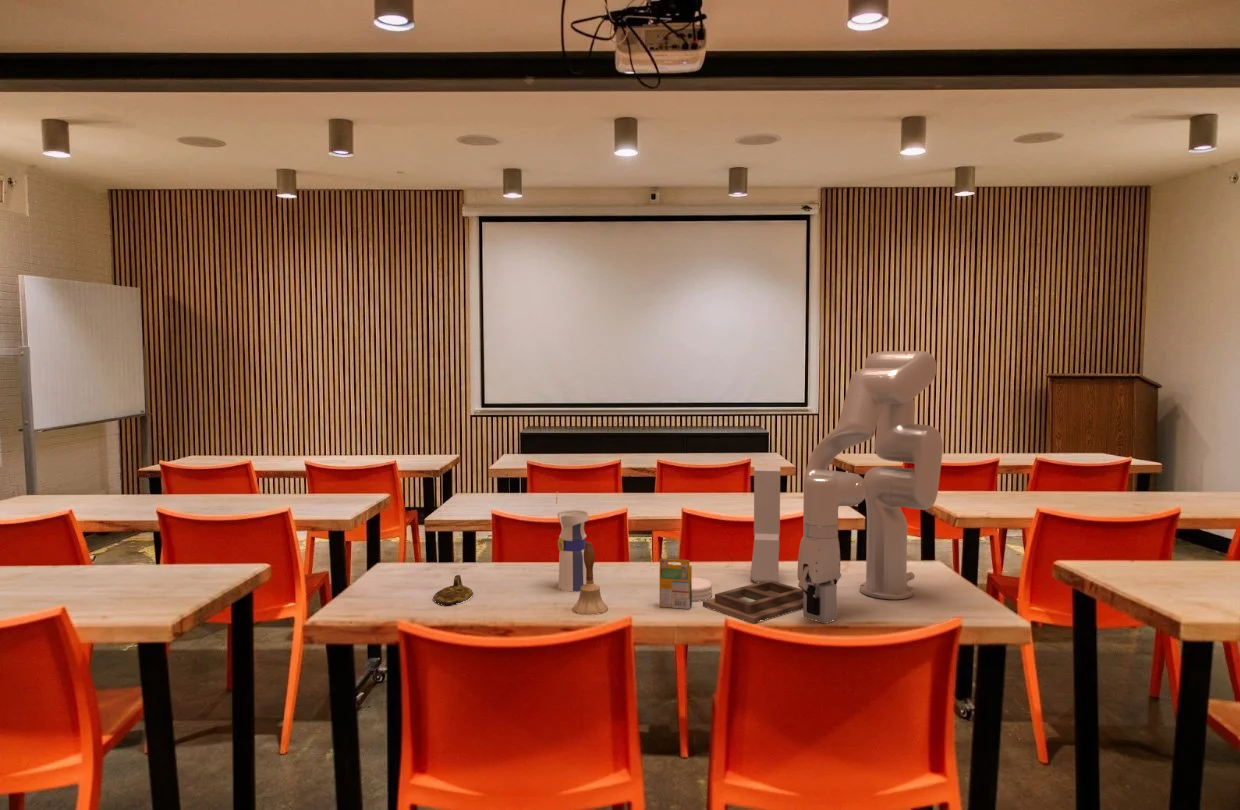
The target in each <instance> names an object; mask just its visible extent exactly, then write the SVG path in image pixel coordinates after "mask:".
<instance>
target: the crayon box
mask: <svg viewBox="0 0 1240 810" xmlns="http://www.w3.org/2000/svg"><path fill="white" fill-rule="evenodd" d="M674 562H675V563H680V564H673V563H674ZM669 563H670V564H669ZM671 563H672V564H671ZM692 567H693V566H692V565H691V564H690V559H676V558H673V559H672V558H659V608H671V607H672V608H671V609H673V608H674V609H686V610H690V609H691V607H692V606H693V601H692V578H693V576H692V574H693V573H692V569H693V568H692Z"/></svg>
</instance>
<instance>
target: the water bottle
mask: <svg viewBox="0 0 1240 810" xmlns="http://www.w3.org/2000/svg"><path fill="white" fill-rule="evenodd" d="M556 495H558V490H557V491H556ZM555 501H556V502H555V504H556V505H557V504H558V497H556V500H555ZM557 518H558V521H559V522H558V523H559V524H560V526H561V531H560V534H559V536H558V537H559V538H558V539H557V547H558V550H559V556H558V560H559V561H558V585H557V586H558V587H557V588H558V589H559V590H560V589H561V590H560V591H562V590H564V591H563V592H568V591H576V592H580V589H581V586H583V585H585V584H586V566H585V563H584V549H585V546H586V538H587V534H586V531H585V522H588V521H589V520H590V516H589V513H588V511H586V510H585V511H584V510H578V509H571V510H562V511H559V512H557Z"/></svg>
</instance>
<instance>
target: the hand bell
mask: <svg viewBox="0 0 1240 810" xmlns="http://www.w3.org/2000/svg"><path fill="white" fill-rule="evenodd" d="M592 543H593V542H591V541H585V549H584V563H585V566H586V584H585V585H583V586H581V589H580V591H579V595H578V599H577V601H576V603H575V604H574V605H573V607H572V609H573V610H572V612H574V613H575V612H577V613H576V614H578V613H581V614H580V615H582V614H596V615H598V614H597V613H601V612H604V611H606V610H607V609H609V607H608V605H607V604H606V603H605V602H604V600H603V599H602V596H601V590H600V589H601V588H600V586H599V585H597V584H596V583H594V570H593V569H594V564H595V560H596V559H595V557H596V556H595V554H596V553H595V549H594V547H593V544H592ZM607 611H608V610H607ZM607 611H606V612H607ZM604 613H605V612H604ZM601 614H602V613H601Z"/></svg>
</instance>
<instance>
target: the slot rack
mask: <svg viewBox="0 0 1240 810" xmlns="http://www.w3.org/2000/svg"><path fill="white" fill-rule="evenodd" d="M803 595H804V591H803V589H801V588H800V587H795V586H792V585H789V584H786V583H781V582H779V581H778V582H775V581H771V580H767V581H763V582H759V583H755V582H754V583H752V584H748V585H745V586H740V587H737V588H732V589H730V590H725V591H721V592H717V593H714V598H709V599H707V600H703V601H702V607H704V606H705V607H704V608H707V607H709V608H711V609H710V610H712V609H715V610H717V611H716V612H718V611H720V612H719V613H721V612H722V614H725V615H727V614H728V616H730V615H731V617H732V618H733V617H734V618H735V619H736V618H737V619H739V620H742V621H745V622H748V623H750V622H751V623H750V624H753V623H755V624H758V623H759V622H758V621H760V620H764V621H766V620H765V619H767V618H771V619H773V618H772V617H774V618H776V617H775V616H777V617H779V616H778V615H780V616H783V615H782V614H784V615H786V614H785V613H787V614H789V613H788V612H790V613H792V612H791V611H793V612H795V611H794V610H797V611H799V610H798V609H800V610H802V609H801V608H803ZM709 608H708V609H709ZM715 610H714V611H715ZM743 619H744V620H743ZM757 622H758V623H757Z"/></svg>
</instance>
